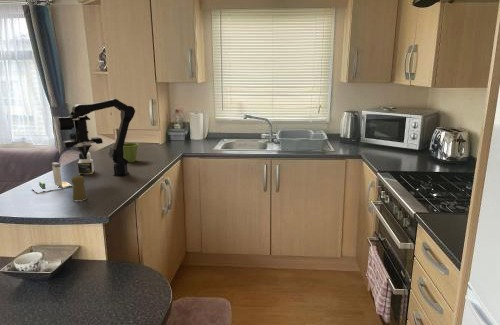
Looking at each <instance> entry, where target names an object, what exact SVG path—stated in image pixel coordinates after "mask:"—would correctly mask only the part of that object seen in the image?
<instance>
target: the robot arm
mask: <svg viewBox="0 0 500 325" xmlns="http://www.w3.org/2000/svg"><path fill="white" fill-rule="evenodd" d="M108 108H109V109H110V108H115V109H117V110H118V111H120V124H119V128H118V132H117V136H116V140H115V143H114V146H113V147H110V148H109V152H108V158H109V159H110V160H111V161H112V162H113V163H114V164H113V176H114V177H115V176H117V177H125V176H127V175H129V174H130V172H129V170H128V163H129V162H128V161H127V160H126V159H125V158H123V156H124V151H123V146H124V143H125V141H126V137H127V133H128V129H129V125H130V123H131V121H132V120H133V118H134V115H135V113H136V110H135V108H134V107H133V106H131V105H127V104H125V103H123V102H122V101H120V100H119V99H117V98H110V99H108V100H103V101H97V102H94V103H93V102H92V103H86V104H85V103H81V104H80V103H79V104H74V105H73V106H72V108H71V112H70V114H69V115H68V116H67V117H66V116H63V117H62V116H59V117H57V128H58V131H59V132H64V131H65V132H66V131H73V129H75V130H74V133H73V132H71V133H68V139H69V140H63V141H62V142H61V145H62V147H63V148H65V149H67V148H69V149H70V148H73V147H74V148H77V150H78V151H79V153H81V154H82V156H83V158H84V159H86V156H87V153H88V152H89V150H90V149H91V147H93V145H92V144H96V145H99V144H103V143H104V141H103V138H102V137H99V136H96V137H91V138H90V139H89V130H88V124H87V121H90V120H91V118H90V117H89V116H88V115H89V114H90V113H92V112H95V111H100V110H103V109H108ZM72 140H73V141H72Z"/></svg>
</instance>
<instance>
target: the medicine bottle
mask: <svg viewBox="0 0 500 325" xmlns="http://www.w3.org/2000/svg"><path fill="white" fill-rule="evenodd" d="M78 158H79V161H78V162H77V166H78V168H77V169H78V176H81V175H80V174H84V175H92V174H94V171H95V166H94V160H93V159H92V156H91V152H89V151H88V153H87V156H86V159H84V158H83V156H82V154H81V152H79V154H78Z"/></svg>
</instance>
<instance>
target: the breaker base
mask: <svg viewBox="0 0 500 325" xmlns="http://www.w3.org/2000/svg"><path fill="white" fill-rule="evenodd" d="M45 185H46V183H45V182H44V181H43V180H40V181H38V186H40V187H41V188H42V189H46V187H45ZM69 186H72V187H73V184H71V183H69V182H67V181H62V185H61V186H59V187H58V188H63V187H69ZM69 188H70V187H69Z"/></svg>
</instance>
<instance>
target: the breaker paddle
mask: <svg viewBox="0 0 500 325" xmlns="http://www.w3.org/2000/svg"><path fill="white" fill-rule="evenodd" d="M60 164H61V163H59V162H56V161H55V162H51V167H52V174H53V180H54V181H53V182H54V183H55V185H57V186H61V185H62V182H63V181H62V175H61V174H62V173H61V166H60Z"/></svg>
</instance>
